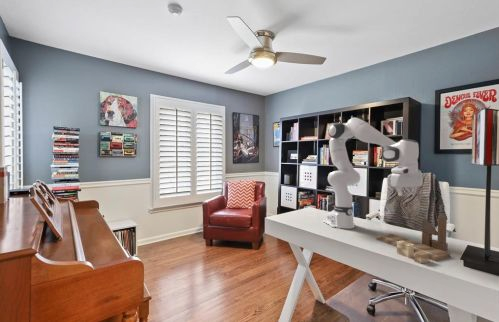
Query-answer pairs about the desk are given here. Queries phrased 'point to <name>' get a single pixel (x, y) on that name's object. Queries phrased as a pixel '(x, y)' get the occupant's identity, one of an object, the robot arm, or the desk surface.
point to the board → (415, 246)
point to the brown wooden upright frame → (435, 233)
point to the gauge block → (405, 249)
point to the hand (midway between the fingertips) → (406, 195)
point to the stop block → (421, 257)
